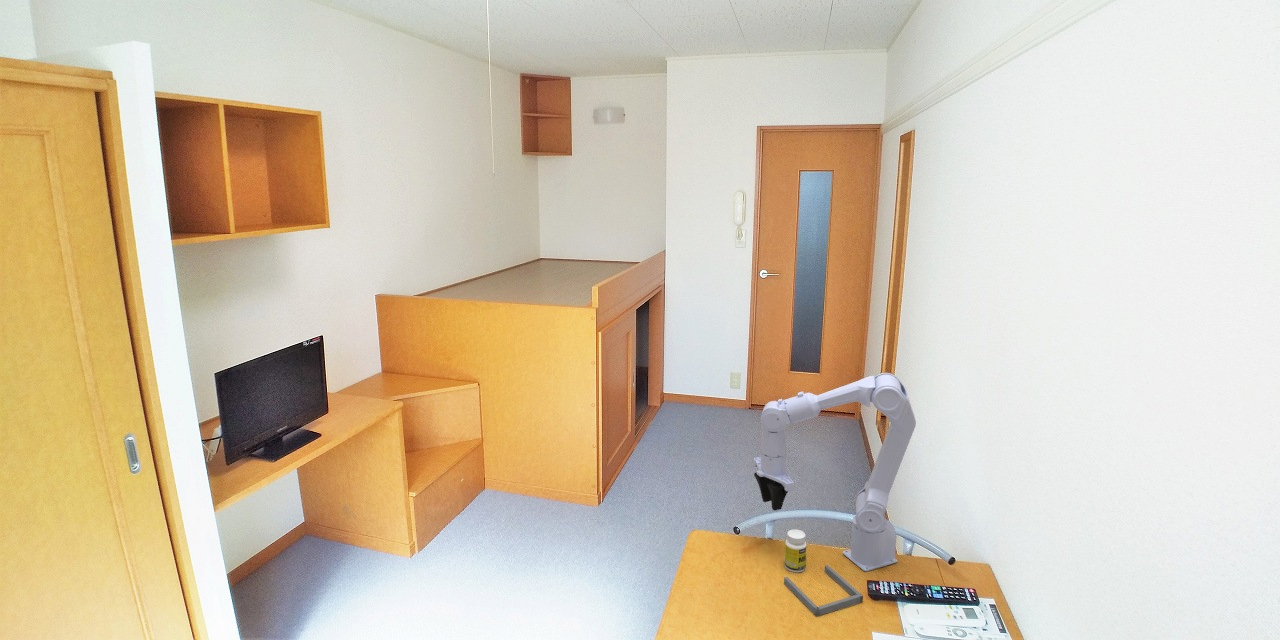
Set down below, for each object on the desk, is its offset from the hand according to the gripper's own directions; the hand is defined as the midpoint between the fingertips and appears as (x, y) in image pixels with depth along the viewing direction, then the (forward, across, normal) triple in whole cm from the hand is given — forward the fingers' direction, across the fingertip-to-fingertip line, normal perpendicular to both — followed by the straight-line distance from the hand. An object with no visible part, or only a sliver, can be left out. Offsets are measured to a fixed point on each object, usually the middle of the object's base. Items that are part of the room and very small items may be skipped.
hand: (772, 505), depth 152 cm
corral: (+10, +20, 0) cm, 23 cm away
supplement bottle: (+11, +10, 0) cm, 15 cm away
